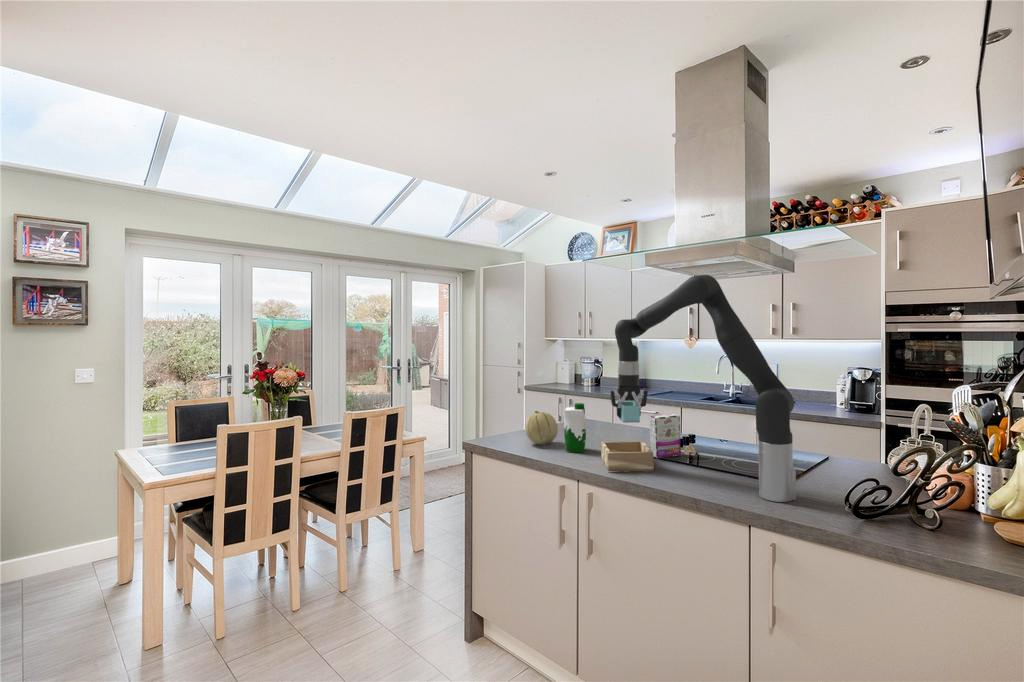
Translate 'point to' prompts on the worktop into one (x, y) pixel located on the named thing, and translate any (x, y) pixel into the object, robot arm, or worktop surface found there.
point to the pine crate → (627, 456)
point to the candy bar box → (665, 435)
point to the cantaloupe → (541, 428)
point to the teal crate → (630, 412)
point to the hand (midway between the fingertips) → (628, 417)
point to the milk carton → (575, 428)
